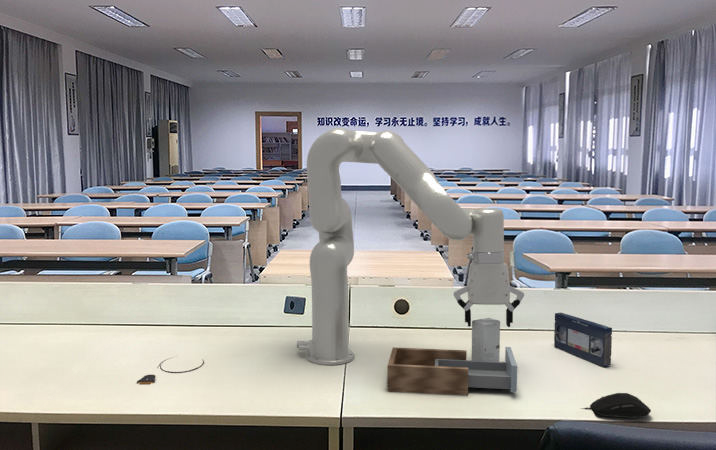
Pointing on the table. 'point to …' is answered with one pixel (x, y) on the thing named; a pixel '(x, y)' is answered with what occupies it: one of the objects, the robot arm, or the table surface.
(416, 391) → the housing
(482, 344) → the skincare box
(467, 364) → the tray
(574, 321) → the vhs cassette tape
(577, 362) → the table surface
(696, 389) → the table surface
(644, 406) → the gaming mouse
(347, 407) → the table surface
